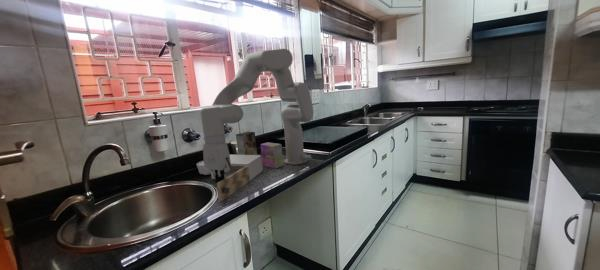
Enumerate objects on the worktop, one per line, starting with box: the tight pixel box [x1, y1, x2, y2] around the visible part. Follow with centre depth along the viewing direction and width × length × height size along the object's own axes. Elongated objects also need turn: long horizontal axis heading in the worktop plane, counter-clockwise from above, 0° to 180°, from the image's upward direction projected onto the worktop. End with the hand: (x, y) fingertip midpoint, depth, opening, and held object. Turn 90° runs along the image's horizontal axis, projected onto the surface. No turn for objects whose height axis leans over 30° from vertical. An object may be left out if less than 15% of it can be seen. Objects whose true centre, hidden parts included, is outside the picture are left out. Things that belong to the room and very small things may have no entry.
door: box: [216, 166, 251, 202], centre depth 103 cm, size 20×3×7 cm, turn 159°
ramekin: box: [196, 160, 211, 176], centre depth 131 cm, size 11×11×5 cm
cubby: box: [210, 153, 264, 181], centre depth 123 cm, size 20×14×8 cm
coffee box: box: [235, 131, 258, 155], centre depth 146 cm, size 9×6×16 cm
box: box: [260, 141, 284, 169], centre depth 133 cm, size 10×6×12 cm, turn 47°
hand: (220, 184), depth 99 cm, fingers closed
